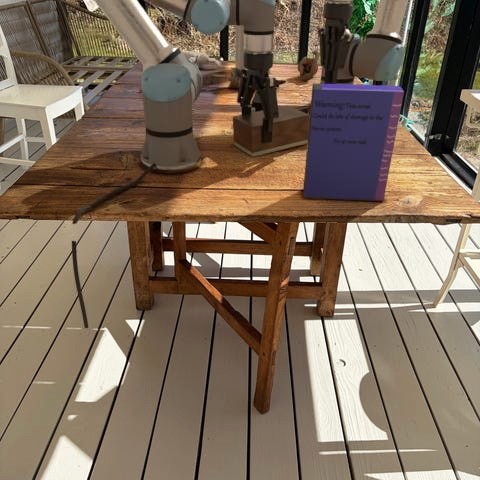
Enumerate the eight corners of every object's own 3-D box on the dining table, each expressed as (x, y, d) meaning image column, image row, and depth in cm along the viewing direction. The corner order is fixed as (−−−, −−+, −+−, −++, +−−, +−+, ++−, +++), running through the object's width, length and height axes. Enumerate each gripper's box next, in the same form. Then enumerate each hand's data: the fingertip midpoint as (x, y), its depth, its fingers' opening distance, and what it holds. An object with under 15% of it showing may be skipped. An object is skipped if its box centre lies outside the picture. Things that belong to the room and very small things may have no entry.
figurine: (210, 87, 179) (288, 95, 182) (212, 65, 176) (291, 73, 180) (208, 84, 201) (278, 91, 205) (210, 64, 198) (280, 71, 202)
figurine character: (269, 131, 150) (273, 112, 162) (270, 107, 146) (274, 90, 157) (248, 129, 151) (253, 111, 163) (248, 106, 146) (254, 89, 158)
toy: (176, 74, 211) (175, 58, 207) (152, 64, 228) (150, 49, 225) (222, 68, 223) (222, 53, 219) (196, 59, 240) (196, 44, 237)
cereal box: (379, 191, 109) (398, 84, 97) (383, 201, 105) (404, 90, 93) (303, 188, 110) (312, 82, 98) (304, 197, 106) (314, 88, 94)
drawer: (326, 121, 148) (328, 100, 144) (346, 129, 141) (348, 108, 137) (263, 135, 139) (263, 114, 135) (281, 145, 132) (281, 123, 128)
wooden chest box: (287, 132, 143) (287, 105, 138) (307, 143, 135) (309, 114, 131) (233, 144, 136) (232, 116, 131) (252, 156, 128) (251, 127, 123)
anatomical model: (307, 83, 216) (306, 83, 202) (293, 69, 215) (291, 69, 201) (327, 61, 212) (327, 60, 198) (313, 47, 211) (312, 45, 197)
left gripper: (296, 58, 113) (291, 146, 125) (248, 43, 130) (247, 122, 142) (270, 60, 110) (266, 151, 122) (224, 45, 127) (225, 126, 139)
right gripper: (366, 4, 122) (354, 97, 134) (334, -1, 131) (325, 87, 144) (343, 5, 118) (332, 100, 131) (312, 0, 128) (305, 89, 140)
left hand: (256, 136), depth 132 cm, fingers closed on wooden chest box, 11 cm apart
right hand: (328, 93), depth 137 cm, fingers closed
